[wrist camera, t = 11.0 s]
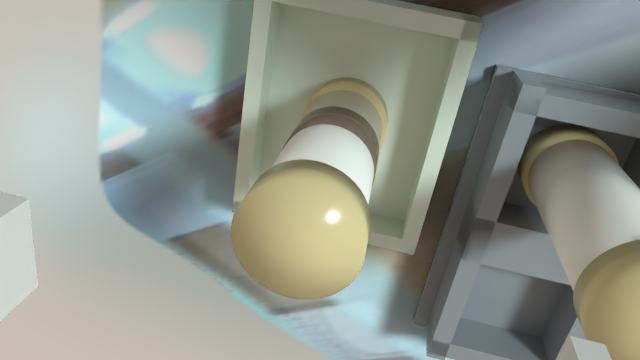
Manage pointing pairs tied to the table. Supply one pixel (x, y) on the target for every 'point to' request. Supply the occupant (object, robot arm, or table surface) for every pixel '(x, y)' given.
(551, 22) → the table surface
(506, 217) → the grey divided tray
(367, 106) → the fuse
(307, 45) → the parts tray
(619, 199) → the fuse
